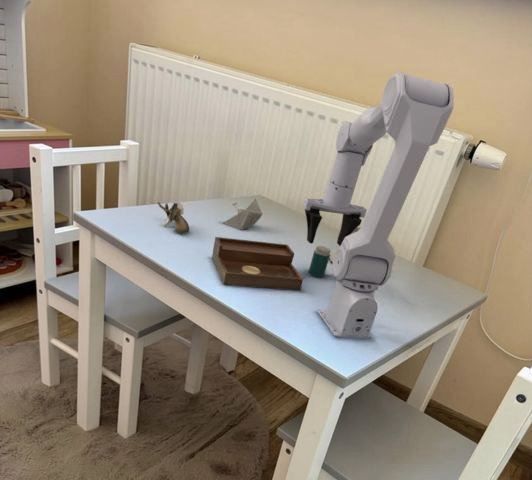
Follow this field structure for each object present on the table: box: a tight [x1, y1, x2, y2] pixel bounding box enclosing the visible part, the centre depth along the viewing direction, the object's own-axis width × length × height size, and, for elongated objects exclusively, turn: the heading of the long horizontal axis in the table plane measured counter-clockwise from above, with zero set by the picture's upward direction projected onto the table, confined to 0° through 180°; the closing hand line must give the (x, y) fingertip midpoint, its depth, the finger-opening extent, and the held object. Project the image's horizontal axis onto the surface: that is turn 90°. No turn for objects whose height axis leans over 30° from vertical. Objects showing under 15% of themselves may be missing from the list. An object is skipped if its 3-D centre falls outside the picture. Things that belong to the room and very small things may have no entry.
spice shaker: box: [308, 245, 332, 279], centre depth 119 cm, size 4×4×6 cm
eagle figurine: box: [157, 201, 190, 235], centre depth 125 cm, size 8×7×9 cm
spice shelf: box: [211, 236, 304, 291], centre depth 112 cm, size 13×17×5 cm
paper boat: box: [222, 198, 263, 230], centre depth 138 cm, size 12×6×9 cm
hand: (324, 243), depth 117 cm, fingers open, 7 cm apart
